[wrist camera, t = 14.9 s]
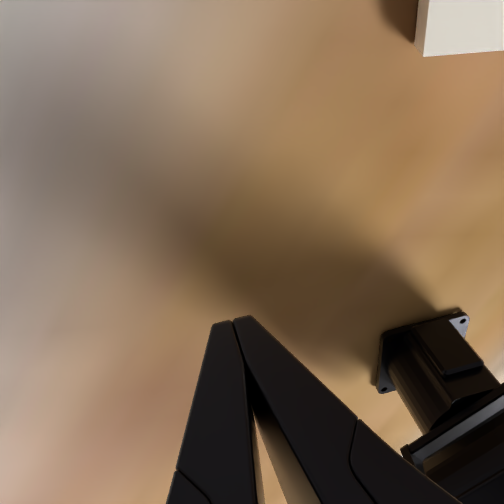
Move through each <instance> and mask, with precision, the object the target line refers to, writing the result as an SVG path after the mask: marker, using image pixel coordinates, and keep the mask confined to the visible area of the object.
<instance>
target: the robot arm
mask: <svg viewBox="0 0 504 504" xmlns="http://www.w3.org/2000/svg"><path fill="white" fill-rule="evenodd" d="M468 323H469V316H468V315H467V314H466V313H465V312H459V313H455V314H452V315H448V316H444V317H440V318H436V319H432V320H428V321H424V322H420V323H417V324H413V325H409V326H405V327H401V328H397V329H393V330H389V331H386V332H384V333H383V334H382V335H381V338H380V348H379V359H378V369H377V380H376V389H377V391H378V393H380V394H384V393H388V392H391V391H395V390H397V392H398V394H399V395H400V397H401V399H402V400H403V402H404V404H405V405H406V407H407V409H408V410H409V412H410V414H411V416H412V417H413V419H414V421H415V422H416V424H417V426H418V427H419V429H420V431H421V432H422V434H423V436H421V437H420V438H418V439H417V440H415V441H414V442H412V443H410V444H409V445H408V444H406V445H405V446H403V447H402V448H400V451H401V453H402V456H403V457H402V456H401V455H399V454H398V453H397V452H396V451H395V450H393V449H392V448H391V447H390V446H389V445H388V444H387V443H386V442H384V441H383V440H382V439H381V438H380V437H379V436H378V435H377V434H376V433H374V432H373V431H372V430H371V429H370V428H369V427H368V426H367V425H366V424H365V423H364V422H363V421H362V420H361V419H358V417H357V416H356V415H355V414H354V413H353V412H352V411H351V410H350V409H349V408H348V407H347V406H346V405H345V404H344V403H343V402H342V401H341V400H340V399H339V398H338V397H337V396H335V395H334V394H333V393H332V392H331V391H330V390H329V389H328V388H327V387H326V386H325V385H324V384H323V383H322V382H321V381H320V380H319V379H318V378H317V377H316V376H315V375H313V374H312V373H311V372H310V371H309V370H308V369H307V368H306V367H305V366H304V365H303V364H302V363H301V362H300V361H299V360H298V359H297V358H296V357H295V356H294V355H293V354H291V353H290V352H289V351H288V350H287V349H286V348H285V347H284V346H283V345H282V344H281V343H280V342H279V341H278V340H277V339H276V338H275V337H274V336H273V335H272V334H271V333H269V332H268V331H267V330H266V329H265V328H264V327H263V326H262V325H261V324H260V323H259V322H258V321H257V320H256V319H255V318H254V317H252V316H251V315H247V316H243V317H239V318H235V319H234V320H233V322H232V321H230V320H227V321H222V322H218V323H215V324H213V325H212V327H211V331H210V335H209V339H208V342H207V346H206V350H205V354H204V358H203V362H202V366H201V370H200V374H199V378H198V382H197V386H196V389H195V393H194V397H193V401H192V405H191V409H190V413H189V417H188V421H187V425H186V429H185V433H184V436H183V440H182V444H181V448H180V452H179V456H178V460H177V464H176V470H177V471H175V472H174V475H173V479H172V482H171V486H170V490H169V494H168V497H167V501H166V504H265V498H264V490H263V482H262V474H261V466H260V458H259V450H258V442H257V434H256V427H255V420H256V423H257V426H258V429H259V432H260V434H261V437H262V439H263V442H264V444H265V447H266V450H267V452H268V455H269V457H270V460H271V462H272V465H273V468H274V470H275V473H276V475H277V478H278V480H279V483H280V485H281V488H282V491H283V493H284V496H285V498H286V501H287V503H288V504H504V383H502V384H500V383H499V381H498V380H497V379H496V378H495V377H494V376H493V374H492V373H491V372H490V371H489V370H488V368H487V367H486V366H485V365H484V362H483V360H482V359H481V358H480V356H479V355H478V354H477V353H476V352H475V351H474V349H473V348H472V347H471V346H470V345H469V343H468V342H467V341H466V340H465V335H466V331H467V327H468ZM253 414H254V415H253ZM254 417H255V420H254Z"/></svg>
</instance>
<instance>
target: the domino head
mask: <svg viewBox="0 0 504 504" xmlns="http://www.w3.org/2000/svg"><path fill="white" fill-rule="evenodd" d="M414 46H415V47H416V48H417V50H418V51H419V52H420V53H421V55H422V56H423V57H427V56H439V55H452V54H464V53H477V52H489V51H501V50H504V0H419V3H418V13H417V23H416V33H415V43H414Z"/></svg>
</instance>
